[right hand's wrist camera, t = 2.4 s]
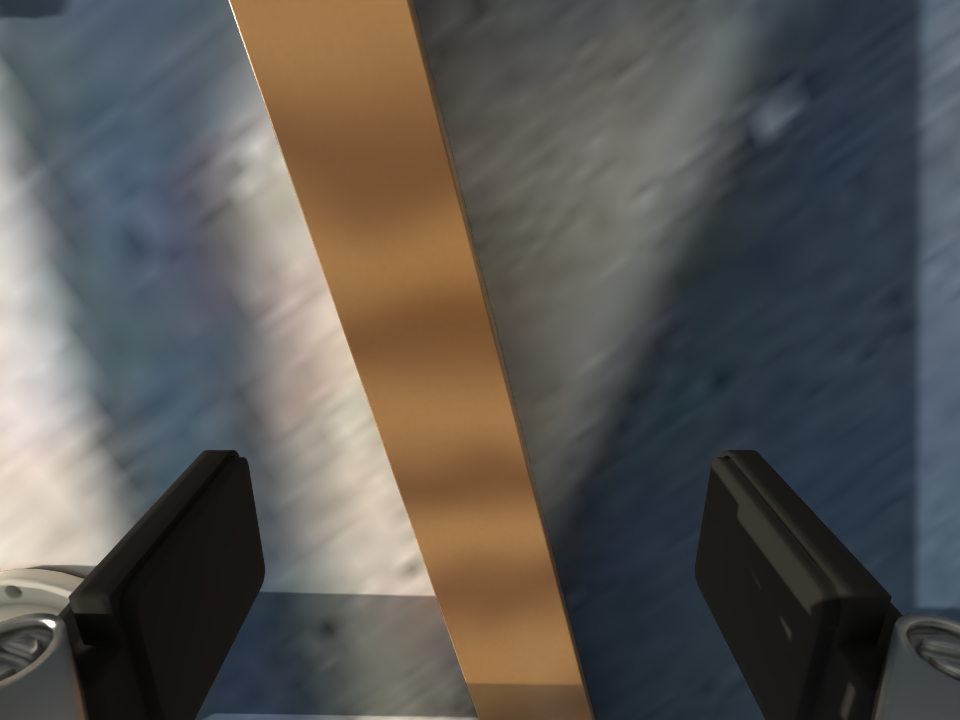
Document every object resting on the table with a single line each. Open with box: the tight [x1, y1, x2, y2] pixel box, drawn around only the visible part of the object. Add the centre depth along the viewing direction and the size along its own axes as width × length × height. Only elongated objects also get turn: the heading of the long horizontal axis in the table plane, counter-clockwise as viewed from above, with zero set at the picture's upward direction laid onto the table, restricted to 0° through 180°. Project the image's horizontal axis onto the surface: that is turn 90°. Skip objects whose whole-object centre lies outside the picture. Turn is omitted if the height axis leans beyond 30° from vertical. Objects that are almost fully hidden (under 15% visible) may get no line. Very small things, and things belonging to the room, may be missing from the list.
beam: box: [229, 0, 595, 720], centre depth 31 cm, size 75×6×6 cm, turn 14°
